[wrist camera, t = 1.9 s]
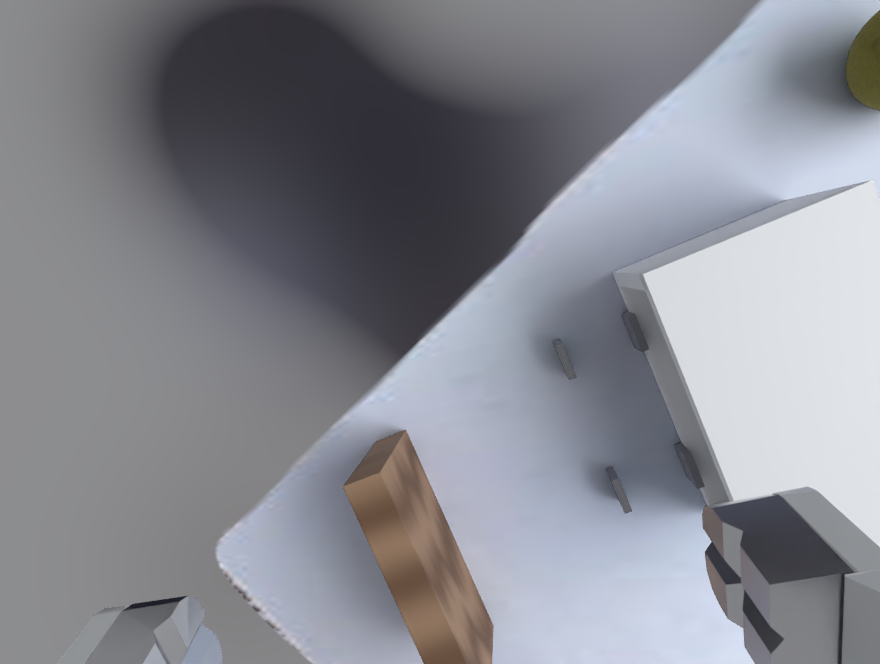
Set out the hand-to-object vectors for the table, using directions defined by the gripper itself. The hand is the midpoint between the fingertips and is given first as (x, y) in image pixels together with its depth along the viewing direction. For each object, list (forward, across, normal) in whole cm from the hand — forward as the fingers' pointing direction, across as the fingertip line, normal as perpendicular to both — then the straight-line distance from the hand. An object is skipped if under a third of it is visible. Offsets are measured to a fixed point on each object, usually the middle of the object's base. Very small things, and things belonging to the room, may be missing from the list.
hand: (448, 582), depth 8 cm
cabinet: (+34, +19, -16) cm, 41 cm away
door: (+33, -7, -26) cm, 43 cm away
